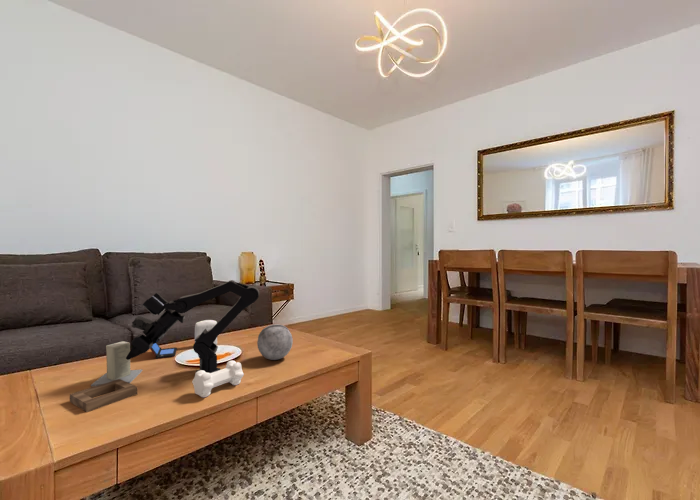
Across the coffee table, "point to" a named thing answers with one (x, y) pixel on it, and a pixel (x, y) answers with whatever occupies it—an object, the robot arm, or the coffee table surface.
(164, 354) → the handheld game console
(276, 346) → the decorative orb
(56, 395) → the coffee table surface
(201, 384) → the white bone
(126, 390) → the walnut holder
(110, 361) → the skincare box
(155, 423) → the coffee table surface
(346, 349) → the coffee table surface
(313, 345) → the coffee table surface
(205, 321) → the photo printer
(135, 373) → the slate mat
